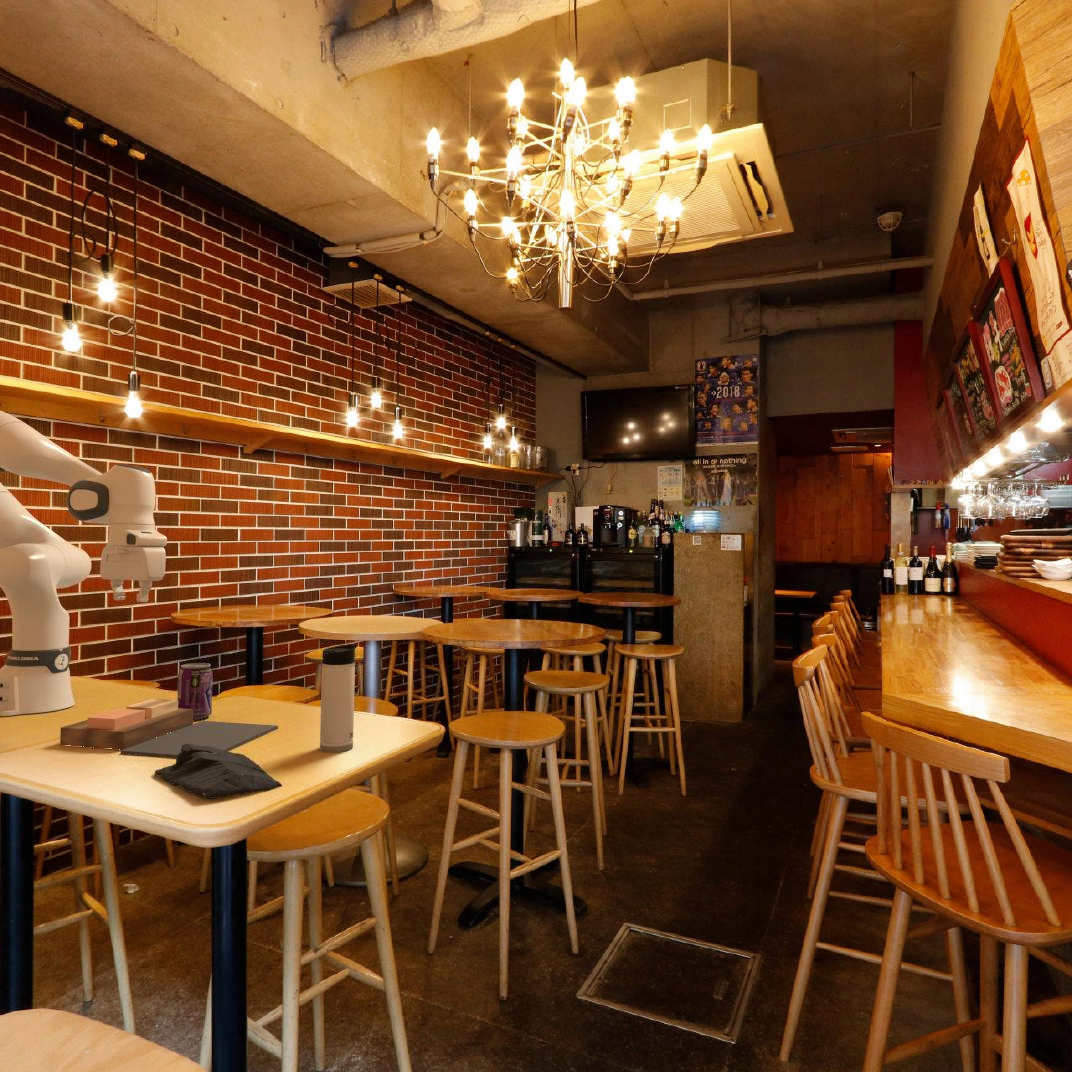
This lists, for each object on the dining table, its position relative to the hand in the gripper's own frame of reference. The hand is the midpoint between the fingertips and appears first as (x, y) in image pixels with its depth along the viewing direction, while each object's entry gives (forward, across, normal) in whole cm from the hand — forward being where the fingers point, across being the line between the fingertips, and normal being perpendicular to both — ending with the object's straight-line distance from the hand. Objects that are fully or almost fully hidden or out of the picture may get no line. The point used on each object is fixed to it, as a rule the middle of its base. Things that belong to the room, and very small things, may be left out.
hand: (130, 601), depth 154 cm
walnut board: (+27, +10, -5) cm, 29 cm away
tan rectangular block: (+23, +9, 0) cm, 25 cm away
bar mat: (+27, +26, +2) cm, 37 cm away
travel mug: (+28, +51, +13) cm, 60 cm away
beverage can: (+27, +6, +11) cm, 30 cm away
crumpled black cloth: (+28, +49, -11) cm, 58 cm away
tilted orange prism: (+23, +13, -9) cm, 28 cm away
